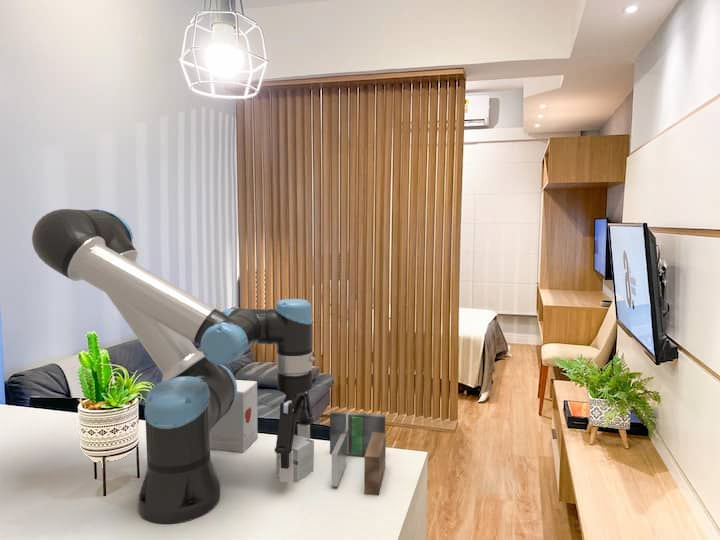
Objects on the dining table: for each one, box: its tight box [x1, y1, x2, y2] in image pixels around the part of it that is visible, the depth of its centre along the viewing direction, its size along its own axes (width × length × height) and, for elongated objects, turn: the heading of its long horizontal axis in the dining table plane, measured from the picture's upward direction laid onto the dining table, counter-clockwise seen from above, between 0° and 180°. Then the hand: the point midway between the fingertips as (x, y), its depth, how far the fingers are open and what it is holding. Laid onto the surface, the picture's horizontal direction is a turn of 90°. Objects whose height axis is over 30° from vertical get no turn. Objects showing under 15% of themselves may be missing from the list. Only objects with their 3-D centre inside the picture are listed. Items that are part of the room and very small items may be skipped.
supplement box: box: [210, 379, 258, 453], centre depth 127 cm, size 9×9×15 cm
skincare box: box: [275, 434, 315, 483], centre depth 113 cm, size 6×6×7 cm
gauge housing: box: [329, 411, 387, 496], centre depth 114 cm, size 14×18×10 cm
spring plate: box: [331, 412, 349, 487], centre depth 114 cm, size 1×15×10 cm, turn 171°
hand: (295, 466), depth 113 cm, fingers open, 13 cm apart
